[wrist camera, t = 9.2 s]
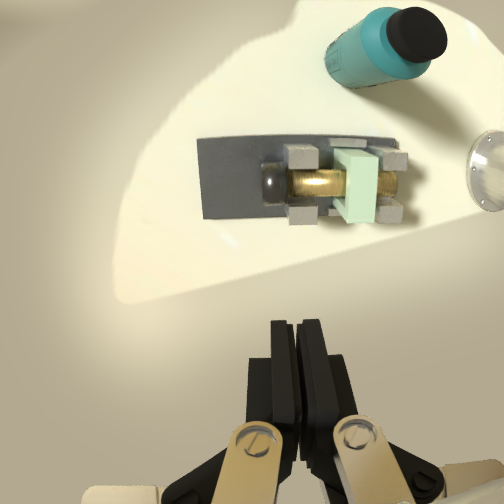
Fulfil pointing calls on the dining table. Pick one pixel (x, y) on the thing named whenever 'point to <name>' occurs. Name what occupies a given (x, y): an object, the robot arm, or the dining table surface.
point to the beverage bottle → (386, 47)
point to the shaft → (312, 183)
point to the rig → (296, 157)
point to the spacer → (357, 185)
